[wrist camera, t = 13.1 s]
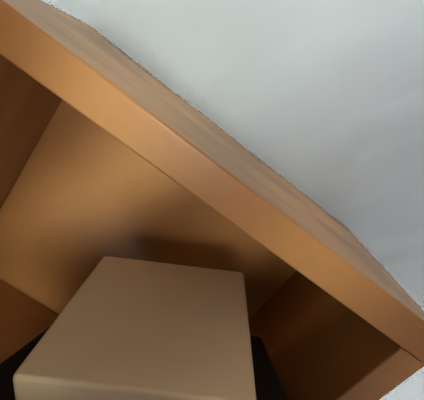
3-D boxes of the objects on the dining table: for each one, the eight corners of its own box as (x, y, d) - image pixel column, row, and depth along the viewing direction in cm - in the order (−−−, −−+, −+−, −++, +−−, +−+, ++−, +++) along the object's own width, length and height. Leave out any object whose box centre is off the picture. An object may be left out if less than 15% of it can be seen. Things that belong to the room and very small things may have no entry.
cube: (244, 271, 10) (258, 406, 6) (226, 378, 11) (227, 551, 7) (104, 254, 10) (9, 376, 6) (104, 363, 11) (29, 526, 7)
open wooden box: (348, 228, 13) (454, 344, 7) (186, 389, 16) (162, 563, 10) (87, 24, 11) (-85, -67, 5) (-38, 254, 14) (-233, 371, 8)
